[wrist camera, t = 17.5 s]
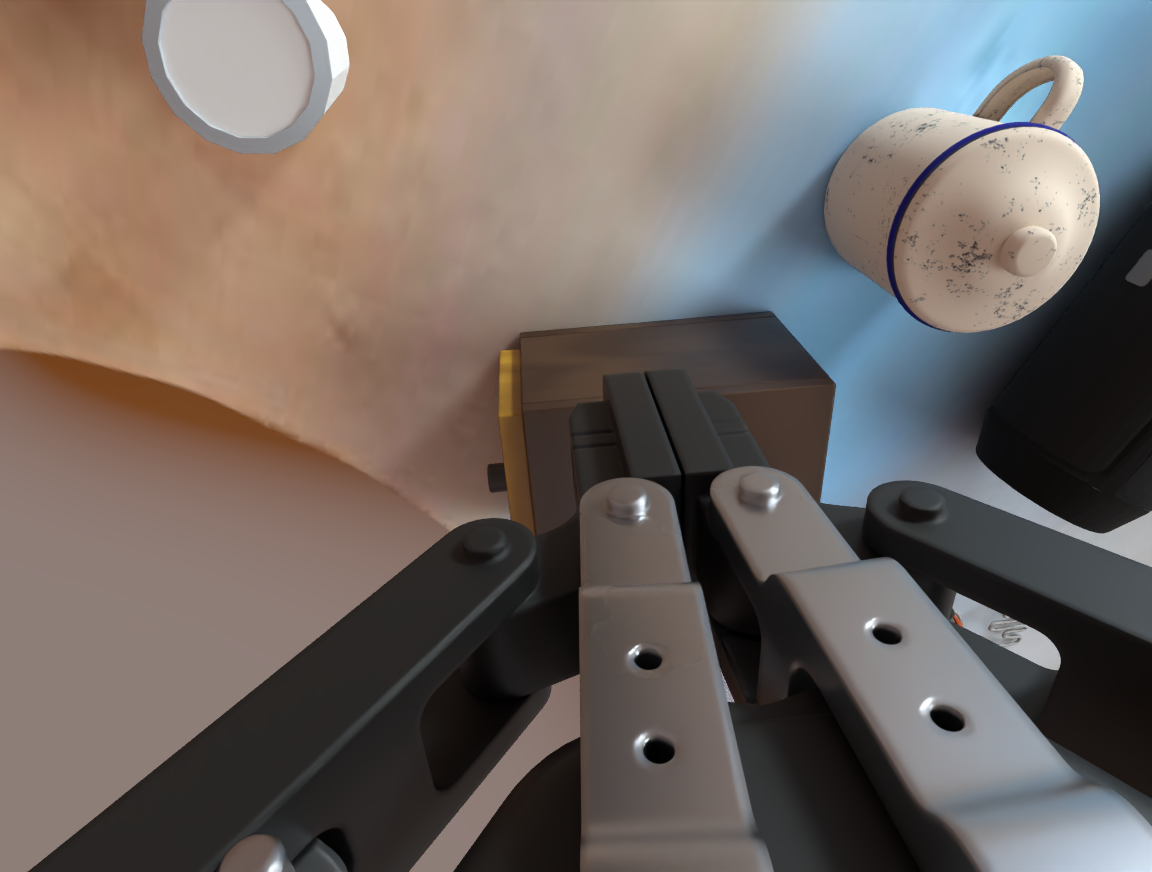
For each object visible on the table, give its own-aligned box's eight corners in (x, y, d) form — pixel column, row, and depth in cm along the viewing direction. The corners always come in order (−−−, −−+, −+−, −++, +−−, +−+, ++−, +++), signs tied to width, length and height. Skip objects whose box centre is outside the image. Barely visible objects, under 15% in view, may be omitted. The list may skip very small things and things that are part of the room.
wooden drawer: (501, 522, 47) (500, 607, 40) (478, 352, 41) (472, 418, 34) (726, 500, 47) (762, 580, 41) (736, 329, 41) (780, 391, 35)
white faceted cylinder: (389, 28, 33) (362, 32, 27) (324, 160, 36) (287, 189, 30) (242, -75, 31) (178, -97, 25) (185, 73, 34) (114, 86, 28)
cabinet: (538, 517, 48) (545, 622, 40) (519, 332, 41) (522, 411, 33) (756, 496, 48) (807, 596, 40) (772, 311, 42) (837, 383, 34)
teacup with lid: (910, 301, 42) (1036, 390, 32) (784, 234, 40) (877, 308, 30) (1059, 97, 37) (1263, 127, 27) (925, 6, 35) (1096, 1, 25)
